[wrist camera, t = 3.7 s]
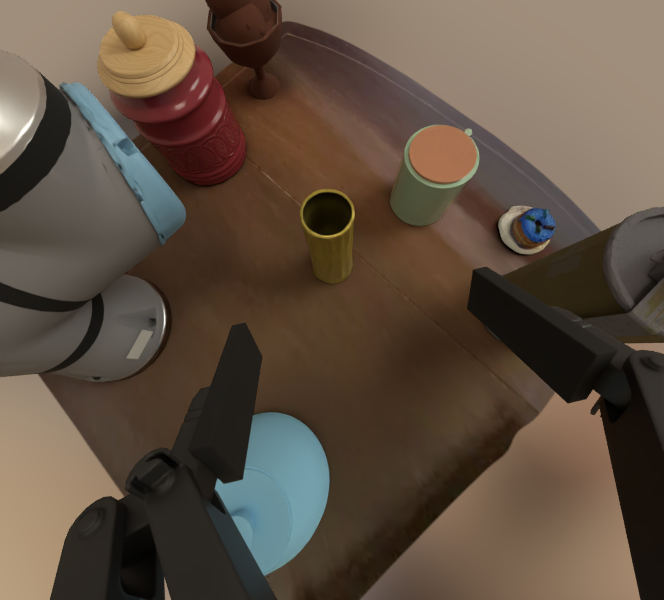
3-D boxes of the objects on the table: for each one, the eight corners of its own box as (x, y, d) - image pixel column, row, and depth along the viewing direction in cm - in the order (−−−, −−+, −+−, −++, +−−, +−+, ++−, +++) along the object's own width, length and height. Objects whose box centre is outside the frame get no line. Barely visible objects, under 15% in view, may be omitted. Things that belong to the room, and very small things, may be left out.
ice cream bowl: (283, 116, 42) (252, -6, 28) (225, 103, 43) (166, -22, 29) (302, 70, 44) (283, -68, 30) (247, 58, 45) (201, -81, 31)
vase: (310, 248, 37) (292, 188, 23) (349, 243, 37) (355, 180, 23) (314, 286, 36) (297, 247, 22) (355, 281, 36) (364, 238, 22)
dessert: (547, 262, 35) (552, 236, 30) (493, 260, 39) (491, 236, 35) (558, 218, 37) (564, 187, 32) (506, 220, 41) (505, 193, 37)
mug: (378, 202, 38) (389, 156, 29) (425, 152, 40) (450, 93, 31) (423, 237, 37) (450, 200, 28) (470, 184, 38) (511, 132, 29)
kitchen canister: (263, 144, 41) (208, -3, 24) (216, 201, 40) (118, 86, 22) (206, 111, 43) (117, -48, 26) (158, 164, 41) (27, 31, 24)
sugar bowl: (295, 387, 33) (272, 407, 22) (351, 495, 30) (358, 582, 19) (197, 445, 32) (120, 498, 21) (246, 563, 30) (187, 697, 18)
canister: (510, 260, 36) (716, 153, 16) (569, 311, 34) (881, 262, 14) (460, 309, 35) (615, 258, 15) (518, 365, 33) (780, 390, 13)
